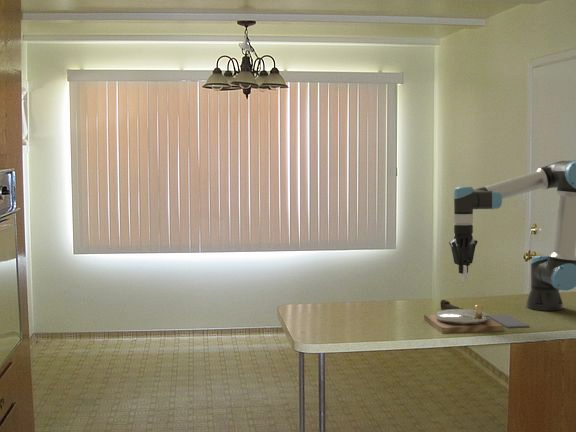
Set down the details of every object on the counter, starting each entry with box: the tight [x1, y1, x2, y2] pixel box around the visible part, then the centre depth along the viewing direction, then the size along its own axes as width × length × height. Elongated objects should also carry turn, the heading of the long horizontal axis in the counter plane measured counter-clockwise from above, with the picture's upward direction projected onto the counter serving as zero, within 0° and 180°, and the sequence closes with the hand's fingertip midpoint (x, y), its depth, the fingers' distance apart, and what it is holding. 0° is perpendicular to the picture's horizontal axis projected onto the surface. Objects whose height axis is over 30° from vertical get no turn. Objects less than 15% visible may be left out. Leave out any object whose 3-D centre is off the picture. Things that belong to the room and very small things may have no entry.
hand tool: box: [440, 299, 464, 311], centre depth 323 cm, size 19×4×5 cm, turn 12°
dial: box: [436, 304, 489, 325], centre depth 299 cm, size 20×20×7 cm
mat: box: [488, 313, 530, 329], centre depth 305 cm, size 9×22×1 cm, turn 6°
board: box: [423, 313, 504, 334], centre depth 300 cm, size 24×24×2 cm
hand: (463, 281), depth 313 cm, fingers closed
